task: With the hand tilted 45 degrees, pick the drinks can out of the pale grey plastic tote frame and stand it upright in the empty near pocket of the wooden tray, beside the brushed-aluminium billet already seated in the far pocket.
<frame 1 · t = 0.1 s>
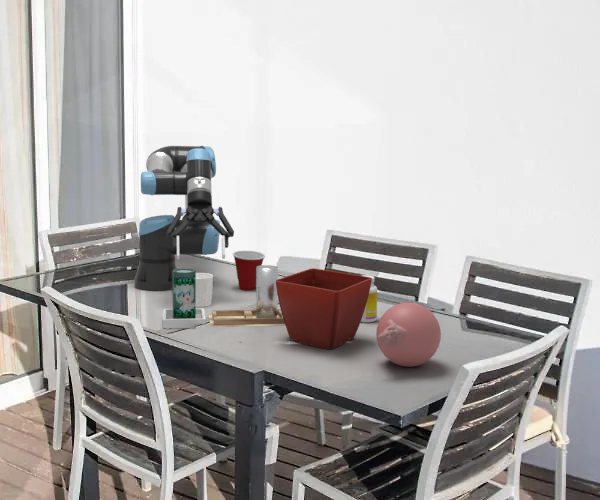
hand: (201, 257, 247), 15 cm above the table, tool tilted 35°, fingers open, 13 cm apart
plastic cup: (248, 289, 274), on the table
tote frame: (184, 322, 232), on the table
supplement bottle: (364, 320, 239), on the table
plant pot: (322, 341, 218), on the table
white cup: (199, 308, 249), on the table
can: (184, 323, 232), resting in tote frame
wooden tray: (248, 323, 233), on the table
balloon: (401, 367, 198), on the table
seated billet: (266, 319, 233), point 1 cm above the table, touching wooden tray
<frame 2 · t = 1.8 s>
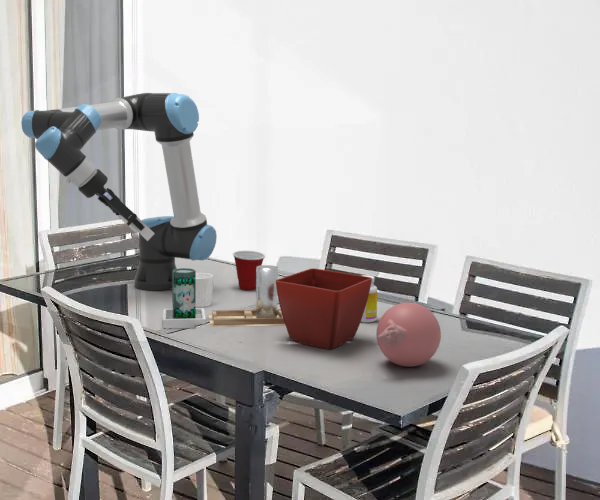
hand: (144, 233, 223), 26 cm above the table, tool tilted 45°, fingers open, 13 cm apart
nothing on the table moved.
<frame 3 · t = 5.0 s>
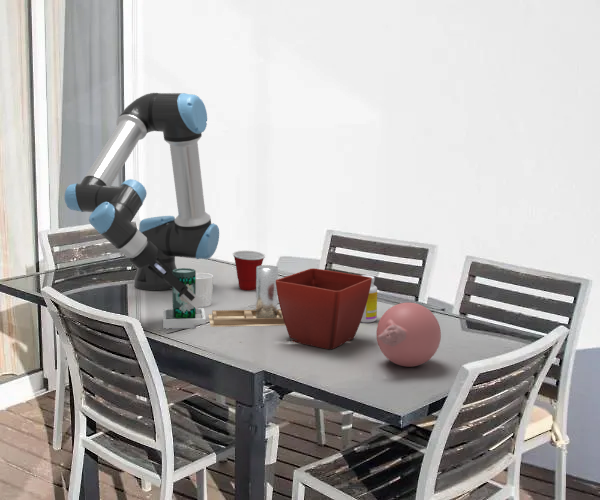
hand: (196, 302, 233), 5 cm above the table, tool tilted 45°, fingers closed on can, 6 cm apart
can: (184, 323, 232), resting in tote frame, touching gripper
everything else where it was.
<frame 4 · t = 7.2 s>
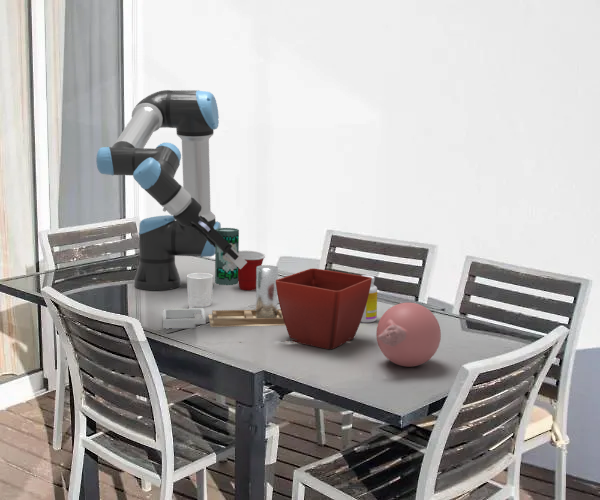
hand: (239, 263, 229), 17 cm above the table, tool tilted 45°, fingers closed on can, 6 cm apart
can: (226, 283, 229), point 12 cm above the table, touching gripper
everything else where it was.
when the fingers open (8 cm above the table, at t = 9.3 s): can drops 1 cm, resting on wooden tray.
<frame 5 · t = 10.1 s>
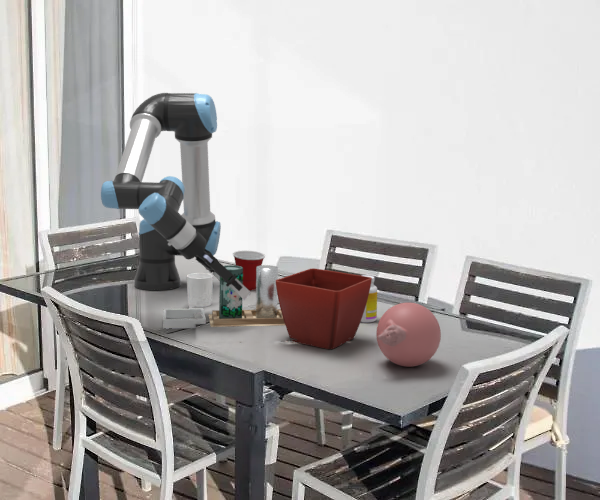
hand: (239, 290, 231), 9 cm above the table, tool tilted 45°, fingers open, 13 cm apart
can: (230, 320, 232), point 1 cm above the table, touching wooden tray
everything else where it was.
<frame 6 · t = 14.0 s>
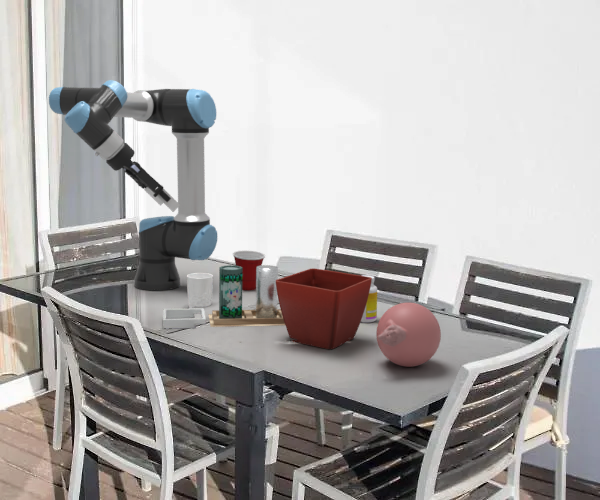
hand: (170, 205, 230), 33 cm above the table, tool tilted 45°, fingers open, 13 cm apart
nothing on the table moved.
at the end: can 0.1 cm from the target spot, point 1.0 cm above the table; can tilted 0°; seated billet moved 0.0 cm from its start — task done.
